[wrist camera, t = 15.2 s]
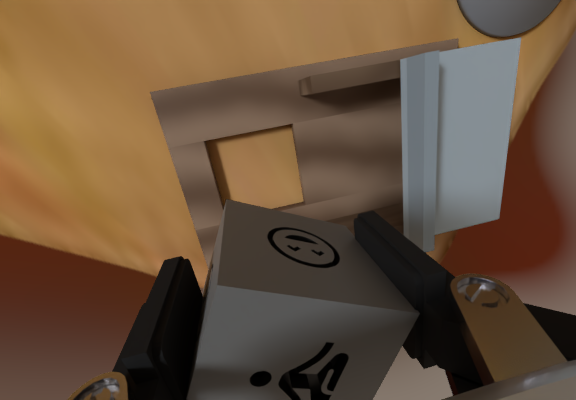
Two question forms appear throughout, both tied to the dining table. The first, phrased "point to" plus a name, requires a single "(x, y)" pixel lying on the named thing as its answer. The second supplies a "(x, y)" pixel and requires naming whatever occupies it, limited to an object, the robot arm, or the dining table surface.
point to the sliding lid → (455, 136)
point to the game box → (300, 135)
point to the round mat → (505, 15)
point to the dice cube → (294, 312)
